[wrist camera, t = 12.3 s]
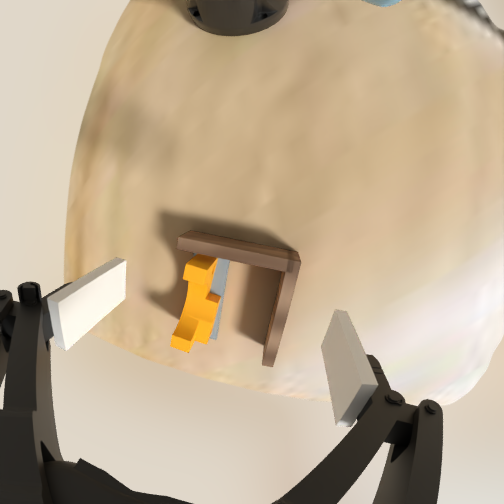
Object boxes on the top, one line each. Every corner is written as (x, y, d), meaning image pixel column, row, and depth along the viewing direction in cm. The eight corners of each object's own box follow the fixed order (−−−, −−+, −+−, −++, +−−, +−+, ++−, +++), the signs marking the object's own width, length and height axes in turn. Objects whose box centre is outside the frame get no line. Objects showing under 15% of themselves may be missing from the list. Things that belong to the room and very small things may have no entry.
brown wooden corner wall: (190, 230, 37) (178, 237, 32) (297, 252, 36) (301, 262, 31) (179, 326, 40) (168, 343, 36) (273, 347, 40) (272, 367, 35)
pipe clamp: (211, 333, 40) (200, 357, 34) (184, 324, 40) (170, 346, 34) (231, 260, 37) (221, 275, 31) (200, 250, 37) (185, 263, 31)
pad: (194, 251, 37) (194, 251, 37) (229, 258, 37) (229, 259, 37) (185, 331, 41) (185, 332, 40) (216, 338, 40) (216, 339, 40)
